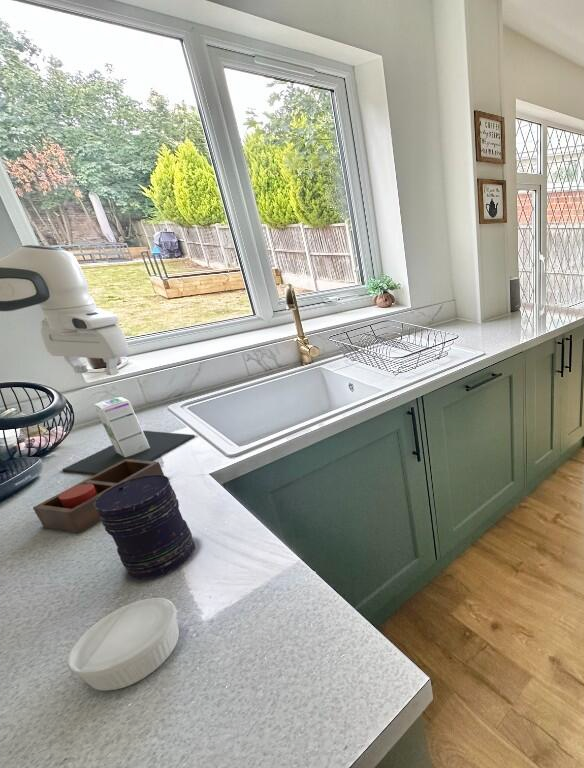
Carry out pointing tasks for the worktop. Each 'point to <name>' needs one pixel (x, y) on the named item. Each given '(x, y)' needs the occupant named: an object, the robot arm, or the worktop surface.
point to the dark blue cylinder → (146, 526)
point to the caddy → (86, 513)
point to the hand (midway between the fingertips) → (97, 373)
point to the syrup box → (122, 426)
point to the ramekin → (126, 644)
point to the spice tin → (77, 495)
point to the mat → (109, 457)
